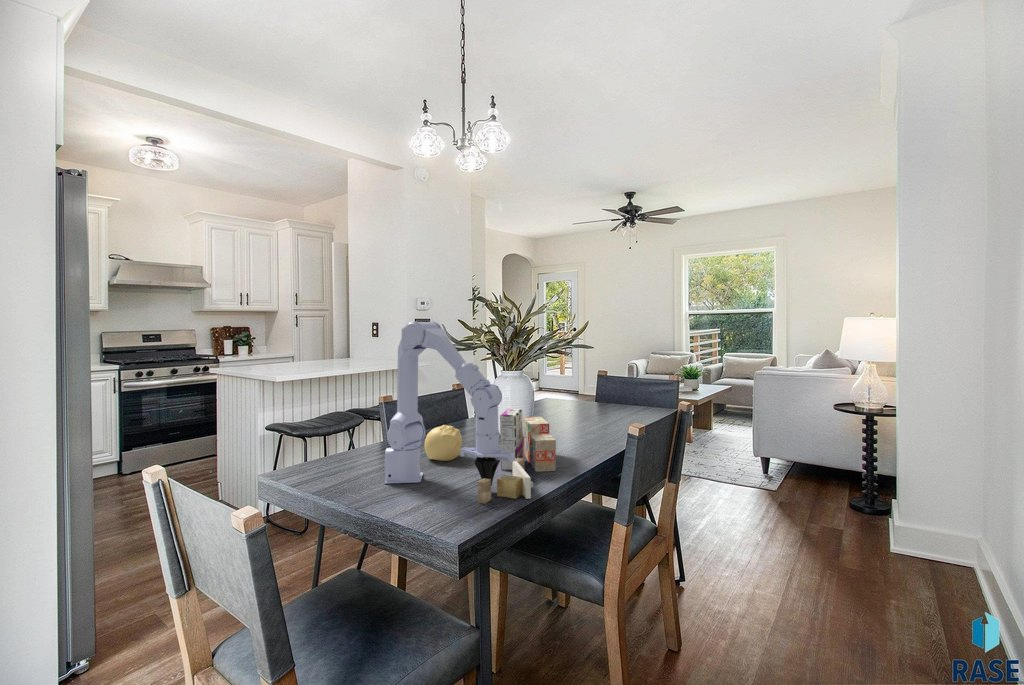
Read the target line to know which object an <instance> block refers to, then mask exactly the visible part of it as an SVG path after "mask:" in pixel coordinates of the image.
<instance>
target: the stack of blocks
mask: <svg viewBox="0 0 1024 685" xmlns="http://www.w3.org/2000/svg"><path fill="white" fill-rule="evenodd" d="M522 426H523V455H524V457H525V459H526V460H527V461H528V463H530V465H531V467H532V469H533V470H534V472H536V473H537V472H538V473H540V472H555V471H556V454H557V452H556V451H557V440H556V439H555V437H554V436H553V435H552V434H551V433H550V423H549V422H548V421H547V420H546V419H544V417H543V416H527V417H526V416H525V417H522Z"/></svg>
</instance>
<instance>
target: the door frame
mask: <svg viewBox="0 0 1024 685" xmlns="http://www.w3.org/2000/svg"><path fill="white" fill-rule="evenodd" d="M515 461H517V462H518V463H519V464H520V466H521V467H522V468H523V469H524V470H525V458H524V457H523V458H516V459H515ZM511 476H513V462H512V470H511ZM491 500H492V486H491V479H486V478H483V479H481V478H480V479H479V480H478V481H477V503H479V504H484V505H485V504H487V503H488V502H490V501H491Z"/></svg>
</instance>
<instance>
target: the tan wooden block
mask: <svg viewBox="0 0 1024 685" xmlns="http://www.w3.org/2000/svg"><path fill="white" fill-rule="evenodd" d="M496 483H497V484H496V490H497V491H496V492H497V493H496V498H501V499H505V500H513V501H517V500H518V499H519V498H520V497H521V496H523V494H522V477H518V476H512V475H508V474H503V475H502V476H500V477H498V478H497V479H496Z"/></svg>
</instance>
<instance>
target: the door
mask: <svg viewBox="0 0 1024 685" xmlns="http://www.w3.org/2000/svg"><path fill="white" fill-rule="evenodd" d="M513 476H518V477H522V496H523V497H524V498H525V499H526V500H527V499H532V495H531V494H532V489H533V488H534V481H532V480H531V479H532V478H531V476H530V475H529V474H528V473H527V472H526V471H525V468H524V469H523V468H522V467H521V466H520V464H519V463H518V462H517V461H513Z"/></svg>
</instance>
